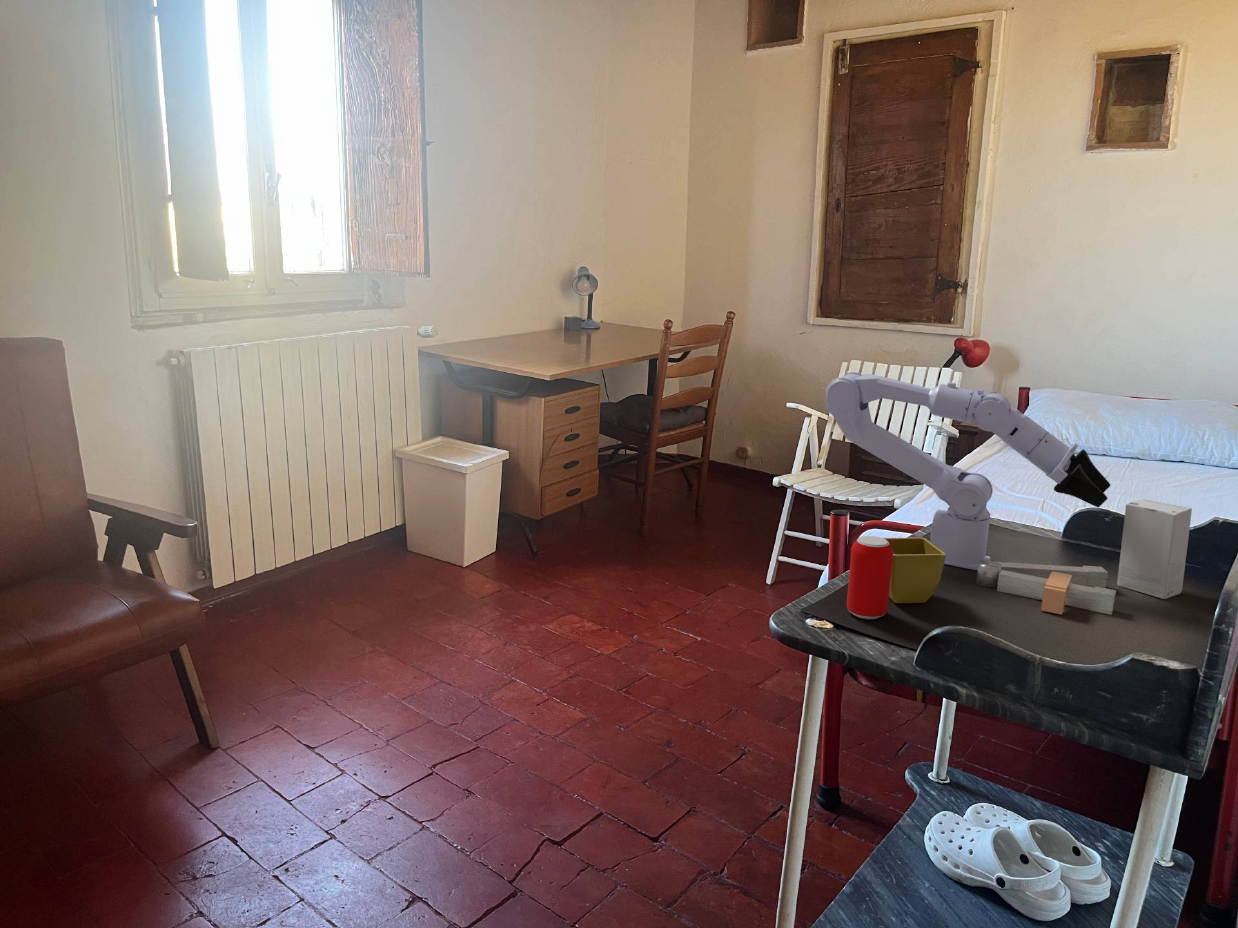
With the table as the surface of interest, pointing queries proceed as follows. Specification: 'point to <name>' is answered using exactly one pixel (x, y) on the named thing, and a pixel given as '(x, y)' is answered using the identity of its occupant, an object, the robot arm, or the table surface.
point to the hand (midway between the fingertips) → (1104, 496)
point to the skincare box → (1154, 548)
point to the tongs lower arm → (1075, 594)
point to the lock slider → (1055, 592)
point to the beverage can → (869, 577)
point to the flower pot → (914, 569)
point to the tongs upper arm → (1041, 573)
